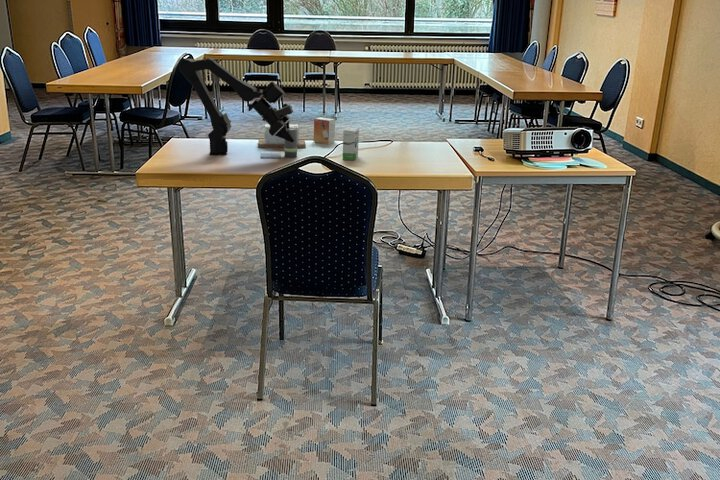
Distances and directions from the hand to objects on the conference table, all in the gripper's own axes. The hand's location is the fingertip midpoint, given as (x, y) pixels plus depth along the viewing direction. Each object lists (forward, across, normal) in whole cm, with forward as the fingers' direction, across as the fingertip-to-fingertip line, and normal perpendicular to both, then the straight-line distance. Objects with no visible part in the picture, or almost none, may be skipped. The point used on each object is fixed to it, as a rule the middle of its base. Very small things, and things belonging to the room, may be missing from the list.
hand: (294, 140), depth 277 cm
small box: (+11, +32, -2) cm, 34 cm away
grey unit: (-1, +21, +10) cm, 24 cm away
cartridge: (+4, 0, +6) cm, 7 cm away
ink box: (+21, +2, -11) cm, 24 cm away
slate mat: (-2, -1, +11) cm, 12 cm away
